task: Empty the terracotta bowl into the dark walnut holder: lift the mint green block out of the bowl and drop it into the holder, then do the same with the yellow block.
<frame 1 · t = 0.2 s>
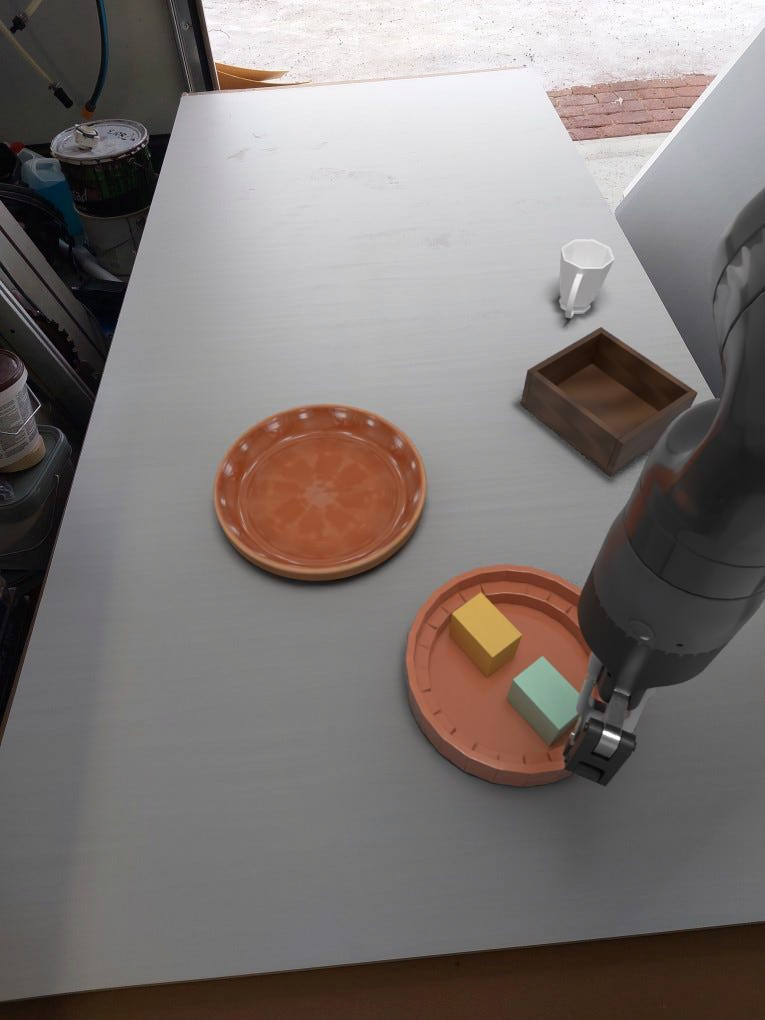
hand: (595, 700, 48), 15 cm above the table, tool pointing down, fingers open, 8 cm apart
bowl: (509, 679, 64), on the table
yellow block: (481, 645, 66), resting on bowl
saucer: (323, 501, 77), on the table
mint green block: (541, 710, 62), resting on bowl
cup: (571, 311, 96), on the table
holder: (599, 415, 84), on the table
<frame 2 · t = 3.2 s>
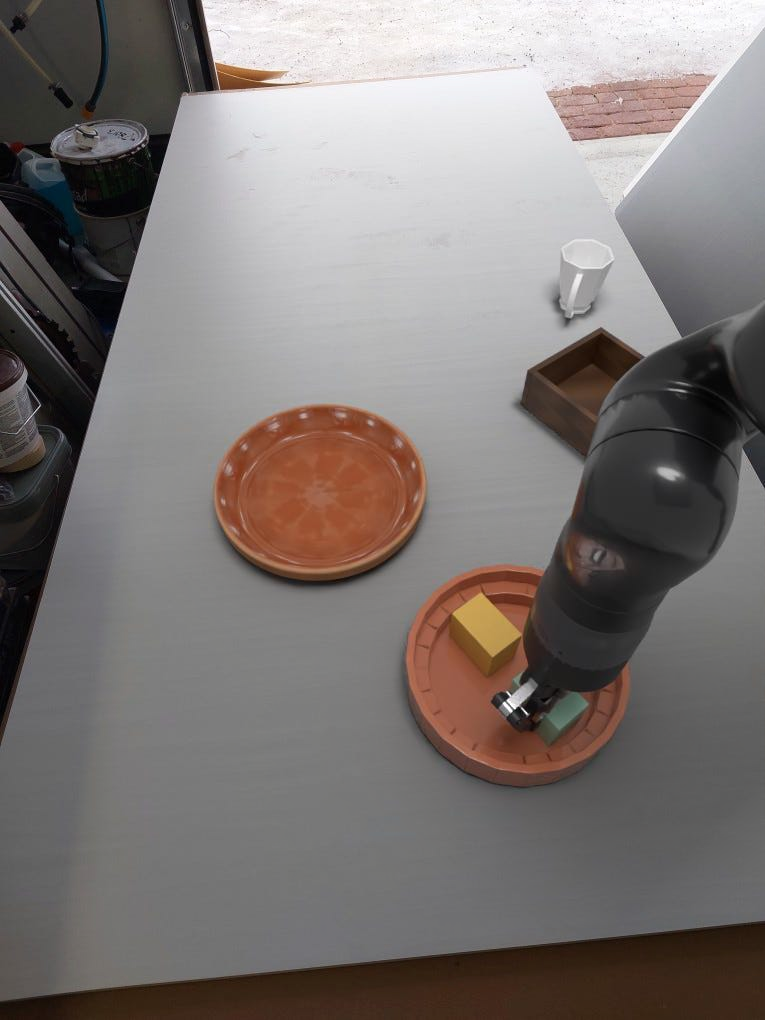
hand: (543, 706, 61), 1 cm above the table, tool pointing down, fingers closed on mint green block, 3 cm apart
mint green block: (541, 710, 62), point 1 cm above the table, touching bowl, gripper
everything else where it was.
when the fingers open (4 cm above the table, at t = 10.8 s): mint green block drops 3 cm, resting on holder.
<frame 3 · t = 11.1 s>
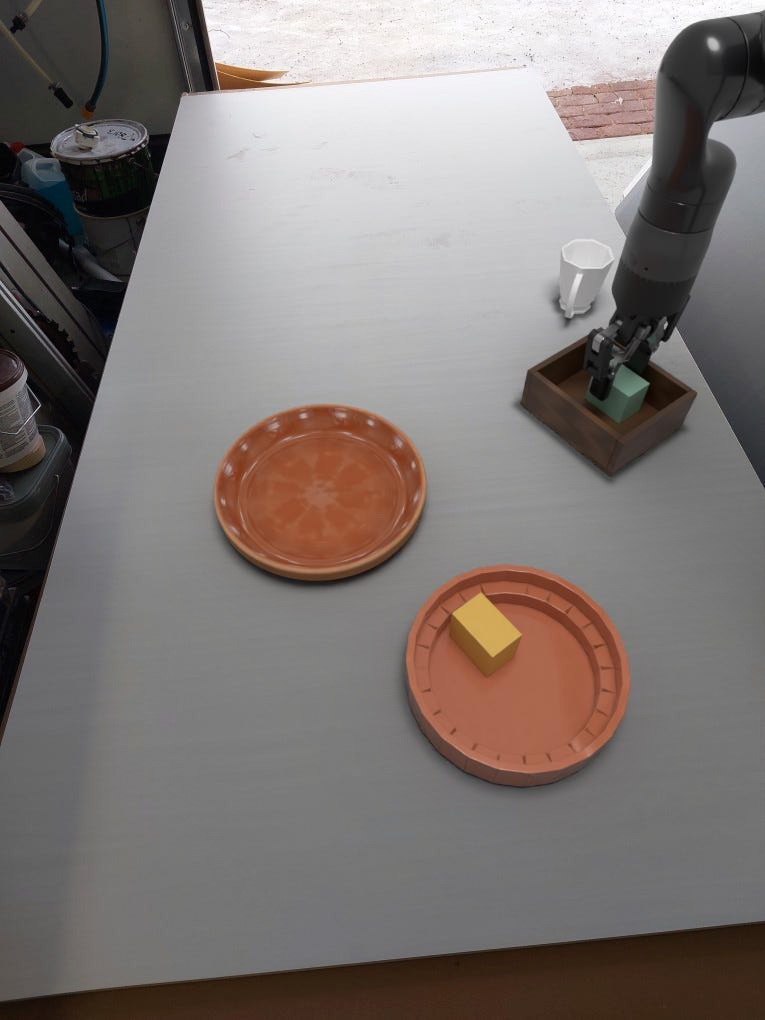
hand: (616, 384, 81), 4 cm above the table, tool pointing down, fingers open, 5 cm apart
mint green block: (611, 404, 84), point 1 cm above the table, touching holder
everything else where it was.
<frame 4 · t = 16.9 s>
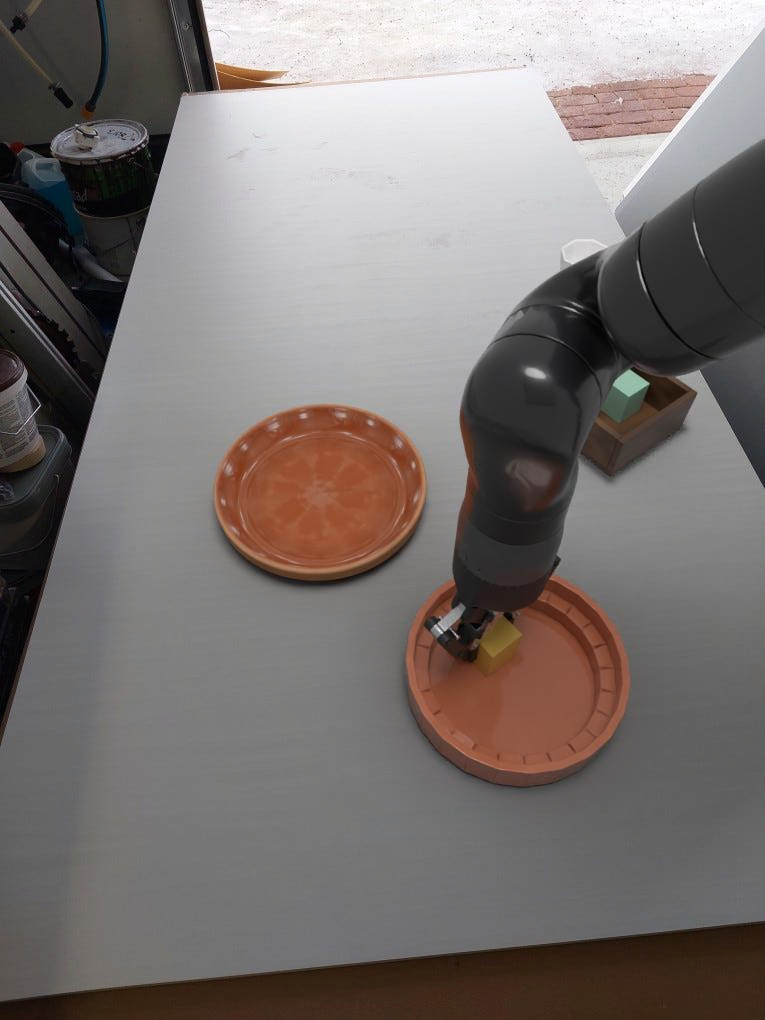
hand: (482, 640, 65), 1 cm above the table, tool pointing down, fingers closed on yellow block, 3 cm apart
yellow block: (481, 645, 66), point 1 cm above the table, touching bowl, gripper
everything else where it was.
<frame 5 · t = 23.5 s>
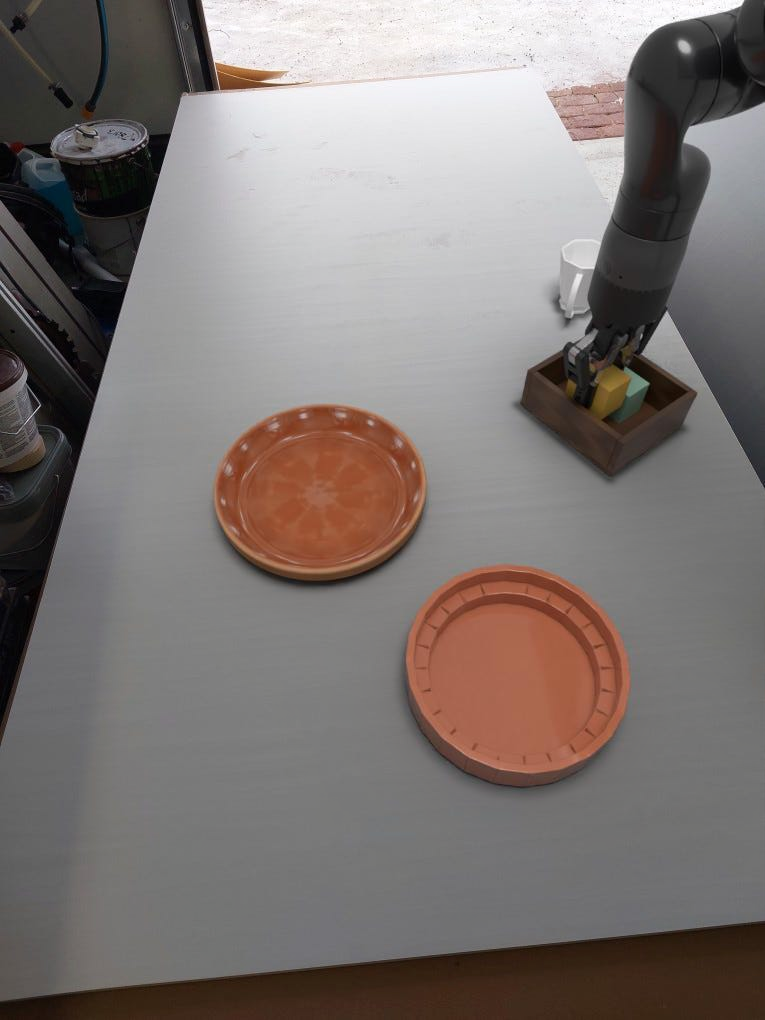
hand: (595, 394, 79), 5 cm above the table, tool pointing down, fingers closed on yellow block, 3 cm apart
yellow block: (592, 400, 80), point 4 cm above the table, touching gripper
mint green block: (611, 404, 84), point 1 cm above the table, touching gripper, holder
everything else where it was.
when the fingers open (8 cm above the table, at t = 36.7 s): yellow block drops 6 cm, resting on holder.
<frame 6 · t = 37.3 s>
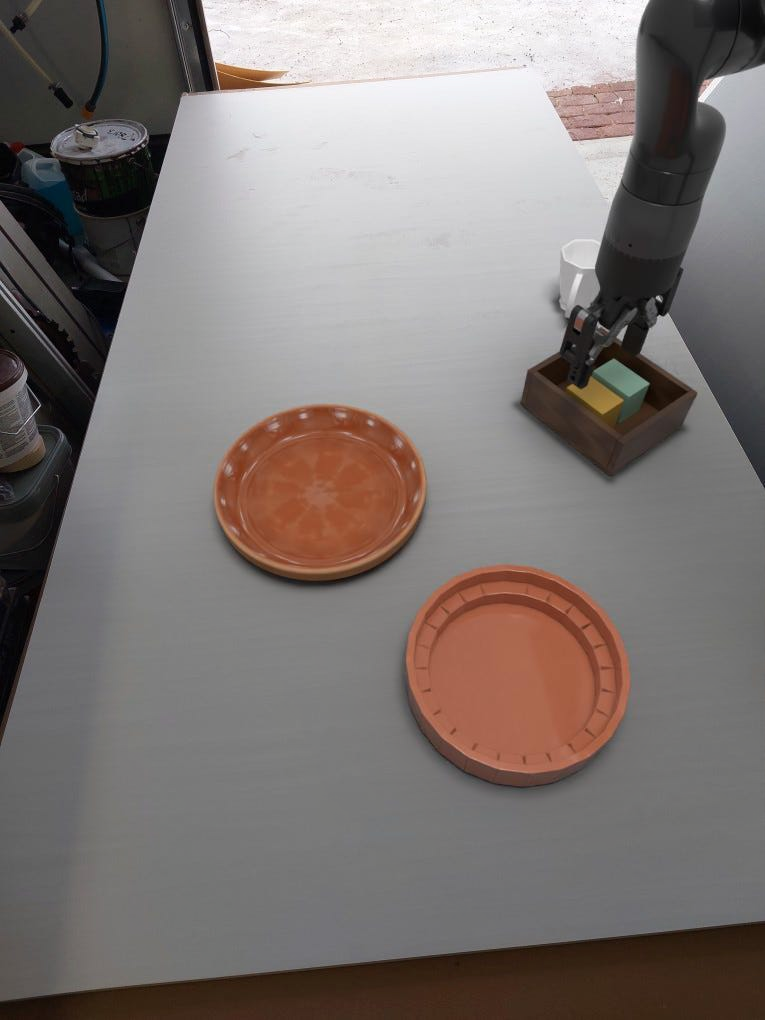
hand: (604, 367, 76), 9 cm above the table, tool pointing down, fingers open, 8 cm apart
yellow block: (586, 421, 83), point 1 cm above the table, touching holder
mint green block: (611, 404, 84), point 1 cm above the table, touching holder
everything else where it was.
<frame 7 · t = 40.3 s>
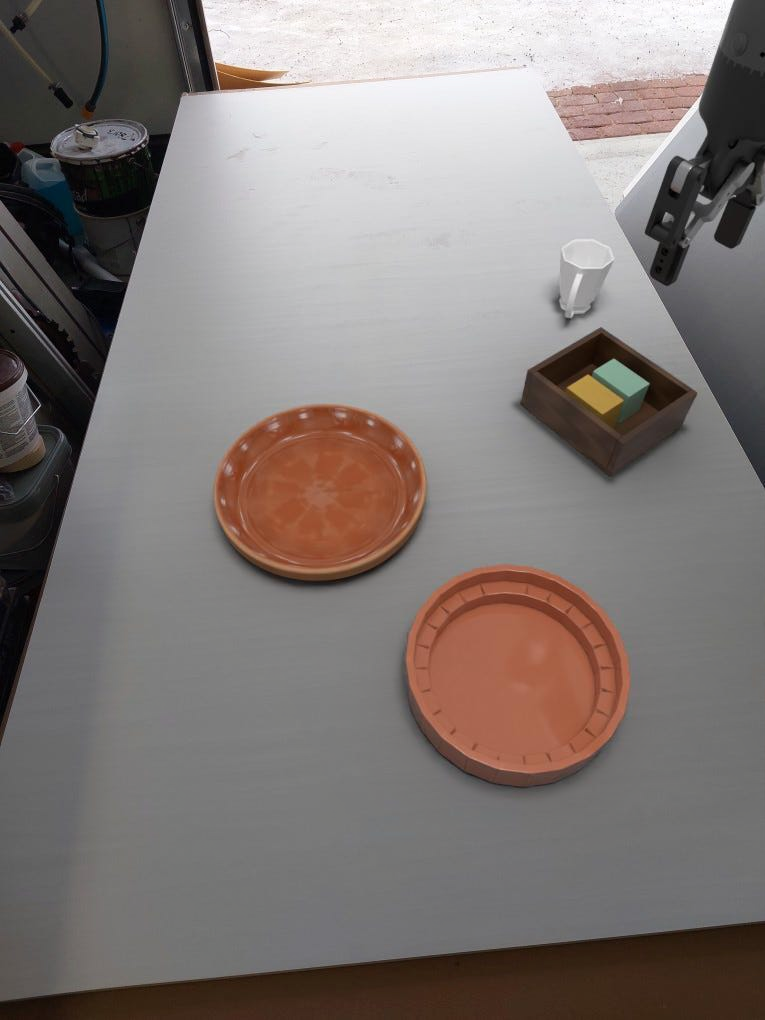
hand: (694, 261, 59), 26 cm above the table, tool pointing down, fingers open, 8 cm apart
nothing on the table moved.
at the end: mint green block inside the target area in the holder (1.9 cm from its centre), point 0.6 cm above the holder's base; yellow block inside the target area in the holder (2.5 cm from its centre), point 0.6 cm above the holder's base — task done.
